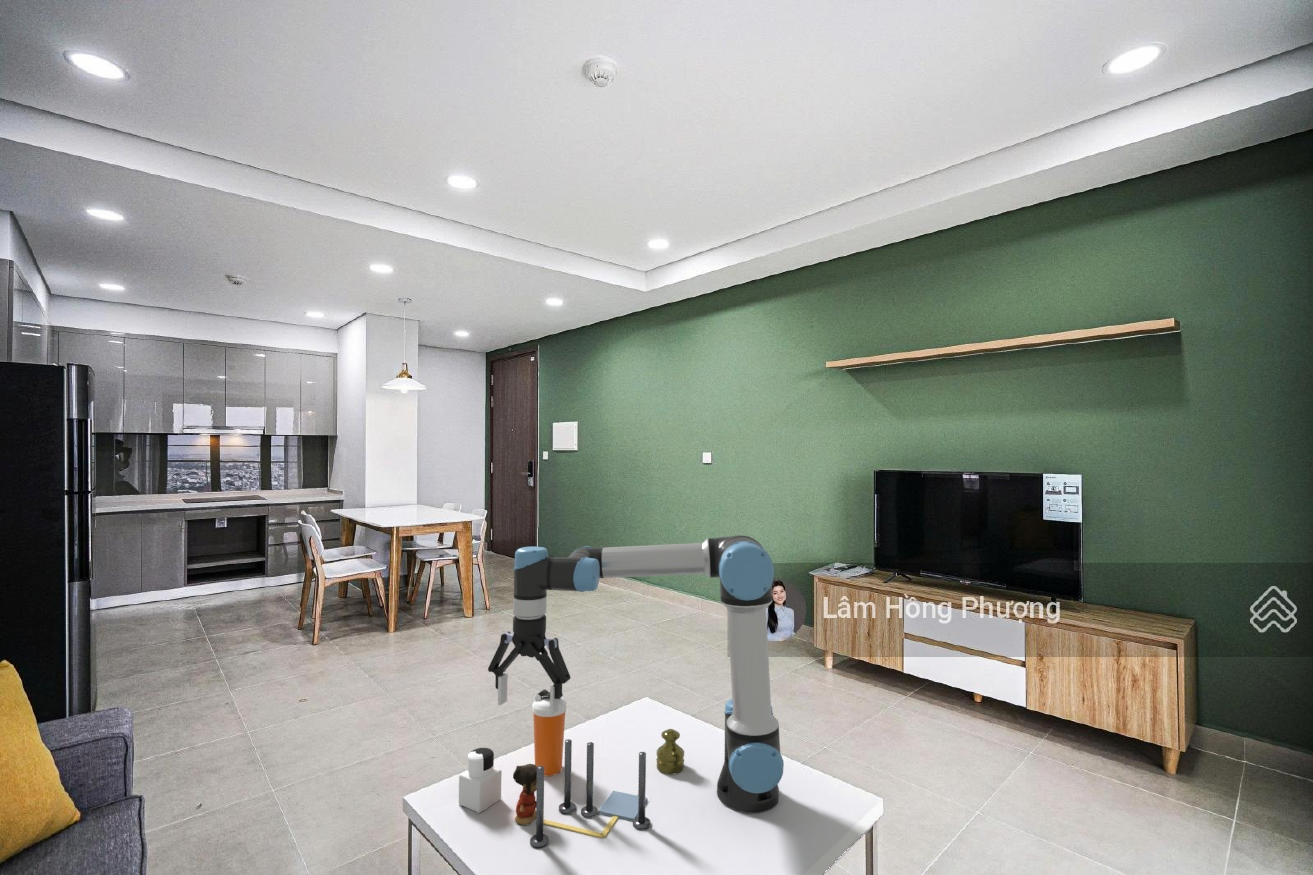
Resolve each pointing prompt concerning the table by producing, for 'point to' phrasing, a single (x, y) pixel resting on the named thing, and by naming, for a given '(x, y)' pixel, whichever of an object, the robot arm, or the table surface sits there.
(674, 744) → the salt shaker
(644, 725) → the table surface
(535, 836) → the gate
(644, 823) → the gate
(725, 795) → the robot arm
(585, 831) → the guide line
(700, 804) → the table surface
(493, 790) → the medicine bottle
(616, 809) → the pad
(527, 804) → the figurine
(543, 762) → the shaker bottle
